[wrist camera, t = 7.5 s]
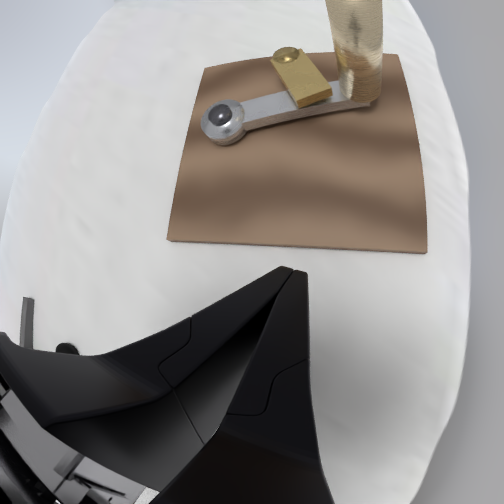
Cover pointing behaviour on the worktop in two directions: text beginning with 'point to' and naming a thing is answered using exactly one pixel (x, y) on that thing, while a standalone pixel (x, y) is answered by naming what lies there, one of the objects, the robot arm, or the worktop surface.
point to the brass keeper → (300, 76)
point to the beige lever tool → (344, 90)
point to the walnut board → (304, 170)
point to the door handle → (27, 329)
